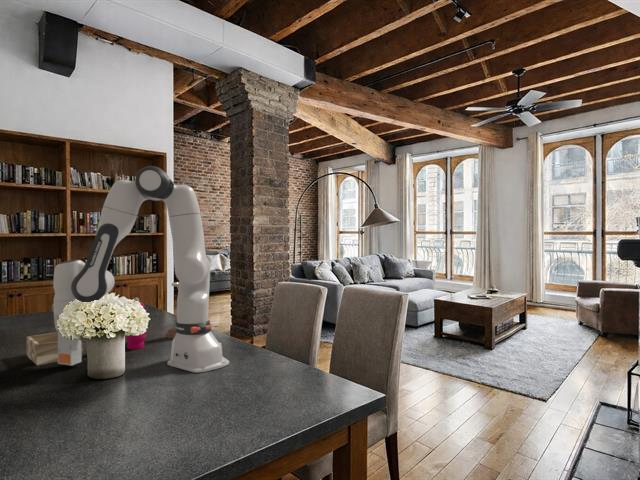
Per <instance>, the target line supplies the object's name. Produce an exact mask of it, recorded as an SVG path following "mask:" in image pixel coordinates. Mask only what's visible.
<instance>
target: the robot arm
mask: <svg viewBox="0 0 640 480" xmlns="http://www.w3.org/2000/svg"><path fill="white" fill-rule="evenodd" d="M134 178H135V179H134V181H133V180H129V179H119V180H116V181H114V183H113V184H112V186H111V187H110V189H109V192H108V193H107V196H106V198H105V201H104V203H103V207H102V210H101V213H100V216H99V220H98V226H97V230H96V232H95V233H96V234H95V237H94V240H93V242H92V245H91V248H90V251H89V253H88V256H87V258H86V261H85V262H84V261H83V260H81V259H71V260H66V261H62V262H59V263H57V265H55V267H54V273H53V290H54V295H53V296H54V297H53V303H52V305H51V311H52V312H53V319H54V321H53V322H54V328H55V331H56V332H58V326H57V320H58V318H59V315H60V314H61V313H63V309H64V307H65V306H66V305H67V304H68V305H69V304H70V303H69V302H71V301H72V300H73V299H74V300H75V299H77V300H79V301H81V302H91V301H94V300H98V301H99V300H101V299H102V298H103V297H104V296H105V295H107V294H109V293H110V292H111V291H112V290H113V289H114V287H115V283H116V281H115V280H116V279H115V277H114V274H113V273H112V272H111V271H109V270H107V269H108V266H109V264H110V261H111V258H112V255H113V253H114V249H116V247H117V245H118V244H119V243H120V242H121V241H122V240H123V239H124V238H125V237H127V236H128V235H129V234H130V232H131V231H132V229H133V227H134V225H135V224H136V223H135V222H136V220H137V218H138V214H139V211H140V208H141V206H142V204H143V202H164V204H165V205H166V208H167V214H168V215H167V216H168V221H169V225H170V232H171V238H172V240H171V241H172V253H173V254H172V255H173V264H174V265H173V266H174V273H175V276H176V279H177V280H178V282H179V290H178V289H177V290H178V291H177V297H178V298H177V299H176V309H177V317H176V320H177V321H175V324H174V325H175V326H174V327H175V331H176V332H177V333H176V335H175V337H174V339H171V341H172V342H171V352H170V359H169V360H168V361H167V366H170V367H173V368H178V369H180V370H184V371H188V372H191V373H205V372H211V371H212V370H218V369H221V368H224V367H227V366H228V365H230V360H229V359H227V358H225V357H224V356H223V345H222V342H219V341H218V340H217V338H216V336H215V335H214V334H213V332H212V328H213V327H212V326H213V325H212V324H211V322H210V319H209V315H210V314H209V313H210V311H209V310H210V309H209V308H210V307H209V304H210V302H209V299H210V287H211V285H210V284H211V283H210V282H211V262H210V260H209V258H208V257H207V253H206V245H205V244H206V243H205V233H204V227H203V222H202V214H201V209H200V204H199V201H198V198H197V195H196V192H195V190H194V189H193V188H192V187H191V186H189V185H187V184H174V183H175V182H174V181H173V180H172V178H171V177H170V176H169V175H168V173H167V172H166V171H165V170H163V169H162V168H161V167H159V166H155V165H153V166H152V165H149V166H148V165H147V166H145V167H142V168H141V169H139V171H138V172H137V173H136V175H135V177H134ZM74 300H73V301H74ZM73 301H72V302H73ZM70 341H71V345H70V350H71V351H76V350H77V345H78V341H79V340H70Z"/></svg>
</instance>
